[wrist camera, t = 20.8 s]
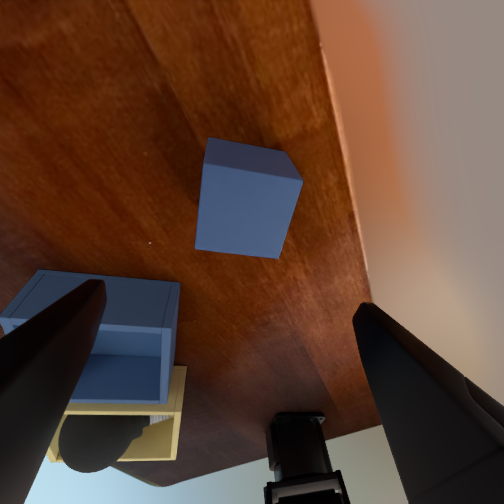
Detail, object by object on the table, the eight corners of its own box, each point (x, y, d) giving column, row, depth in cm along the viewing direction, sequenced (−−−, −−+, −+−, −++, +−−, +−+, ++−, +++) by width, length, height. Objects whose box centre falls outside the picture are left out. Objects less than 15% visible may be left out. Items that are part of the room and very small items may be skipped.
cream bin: (186, 365, 28) (181, 412, 24) (180, 416, 34) (175, 460, 30) (50, 360, 25) (22, 410, 22) (70, 416, 31) (50, 462, 28)
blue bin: (180, 282, 21) (171, 328, 18) (174, 357, 27) (167, 404, 23) (38, 268, 19) (-4, 317, 16) (63, 352, 25) (36, 402, 21)
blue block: (286, 151, 16) (304, 180, 12) (268, 219, 19) (278, 259, 15) (208, 136, 15) (203, 162, 12) (200, 209, 18) (194, 249, 14)
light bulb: (178, 454, 28) (59, 503, 23) (164, 402, 33) (63, 433, 28) (182, 411, 26) (51, 455, 21) (166, 361, 31) (57, 388, 26)
